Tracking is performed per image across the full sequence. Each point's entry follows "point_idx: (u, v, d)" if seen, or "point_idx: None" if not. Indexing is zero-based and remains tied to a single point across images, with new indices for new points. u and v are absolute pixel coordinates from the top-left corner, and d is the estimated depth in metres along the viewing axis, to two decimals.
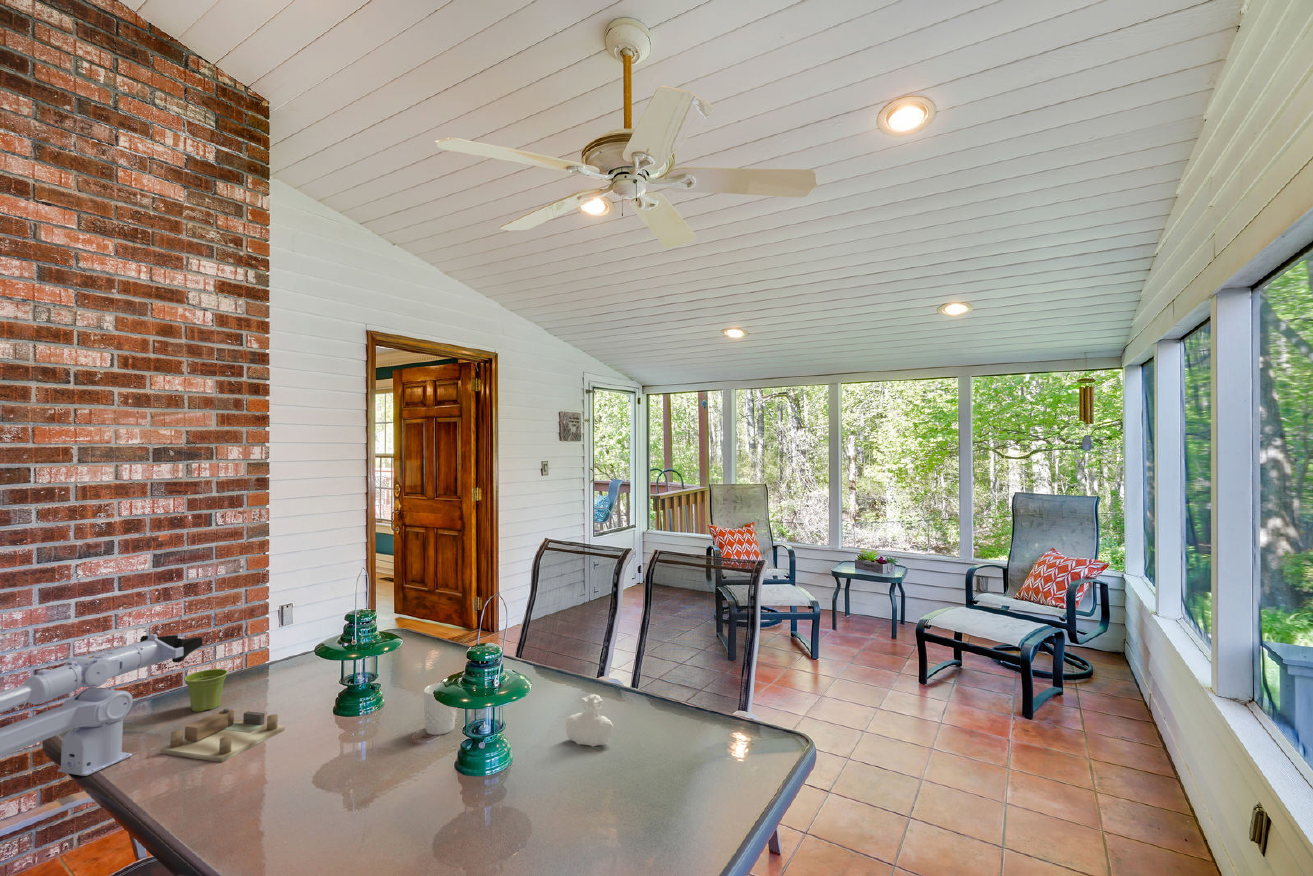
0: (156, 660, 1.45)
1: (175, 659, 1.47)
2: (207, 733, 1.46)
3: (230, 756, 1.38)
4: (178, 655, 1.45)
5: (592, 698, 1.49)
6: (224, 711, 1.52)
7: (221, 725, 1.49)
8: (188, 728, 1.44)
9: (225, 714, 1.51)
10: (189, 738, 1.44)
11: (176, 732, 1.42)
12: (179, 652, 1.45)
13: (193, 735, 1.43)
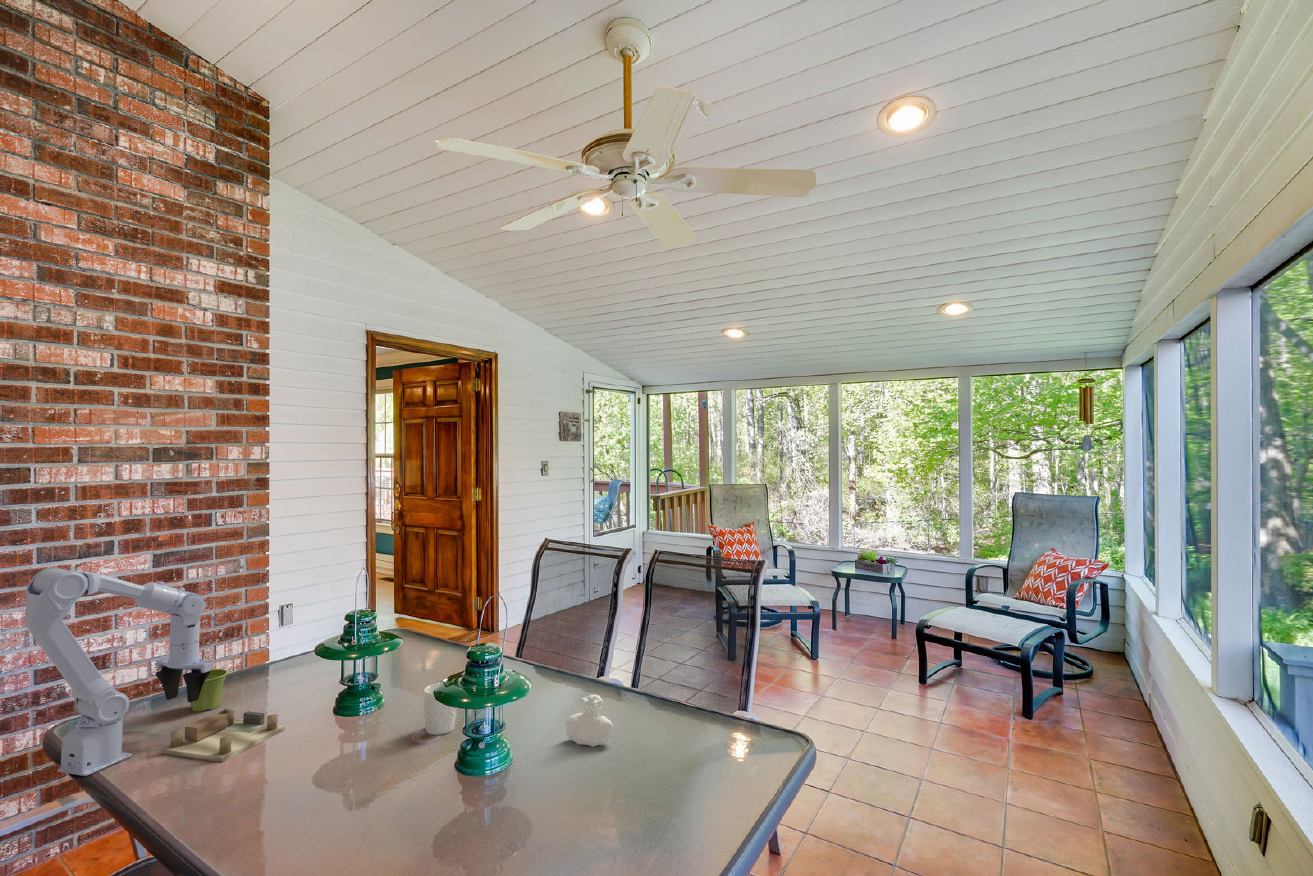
0: (185, 661, 1.48)
1: (188, 674, 1.47)
2: (207, 733, 1.46)
3: (230, 756, 1.38)
4: (206, 667, 1.48)
5: (592, 698, 1.49)
6: (224, 711, 1.52)
7: (221, 725, 1.49)
8: (188, 728, 1.44)
9: (225, 714, 1.51)
10: (189, 738, 1.44)
11: (176, 732, 1.42)
12: (208, 667, 1.48)
13: (193, 735, 1.43)
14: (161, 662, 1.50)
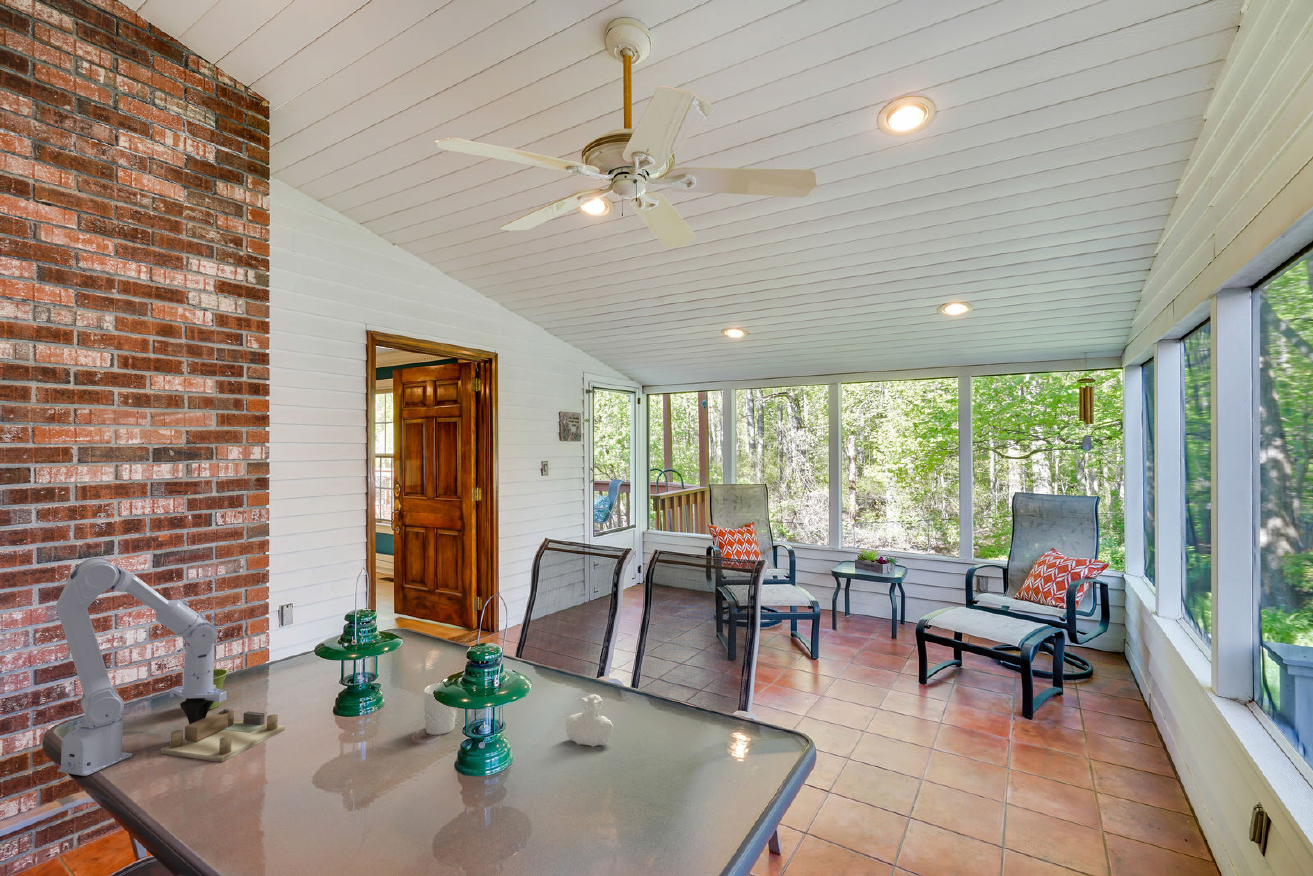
0: (199, 691, 1.47)
1: (193, 702, 1.46)
2: (207, 733, 1.46)
3: (230, 756, 1.38)
4: (221, 696, 1.46)
5: (592, 698, 1.49)
6: (224, 711, 1.52)
7: (221, 725, 1.49)
8: (188, 728, 1.44)
9: (225, 714, 1.51)
10: (189, 738, 1.44)
11: (176, 732, 1.42)
12: (223, 697, 1.47)
13: (193, 735, 1.43)
14: (175, 692, 1.48)
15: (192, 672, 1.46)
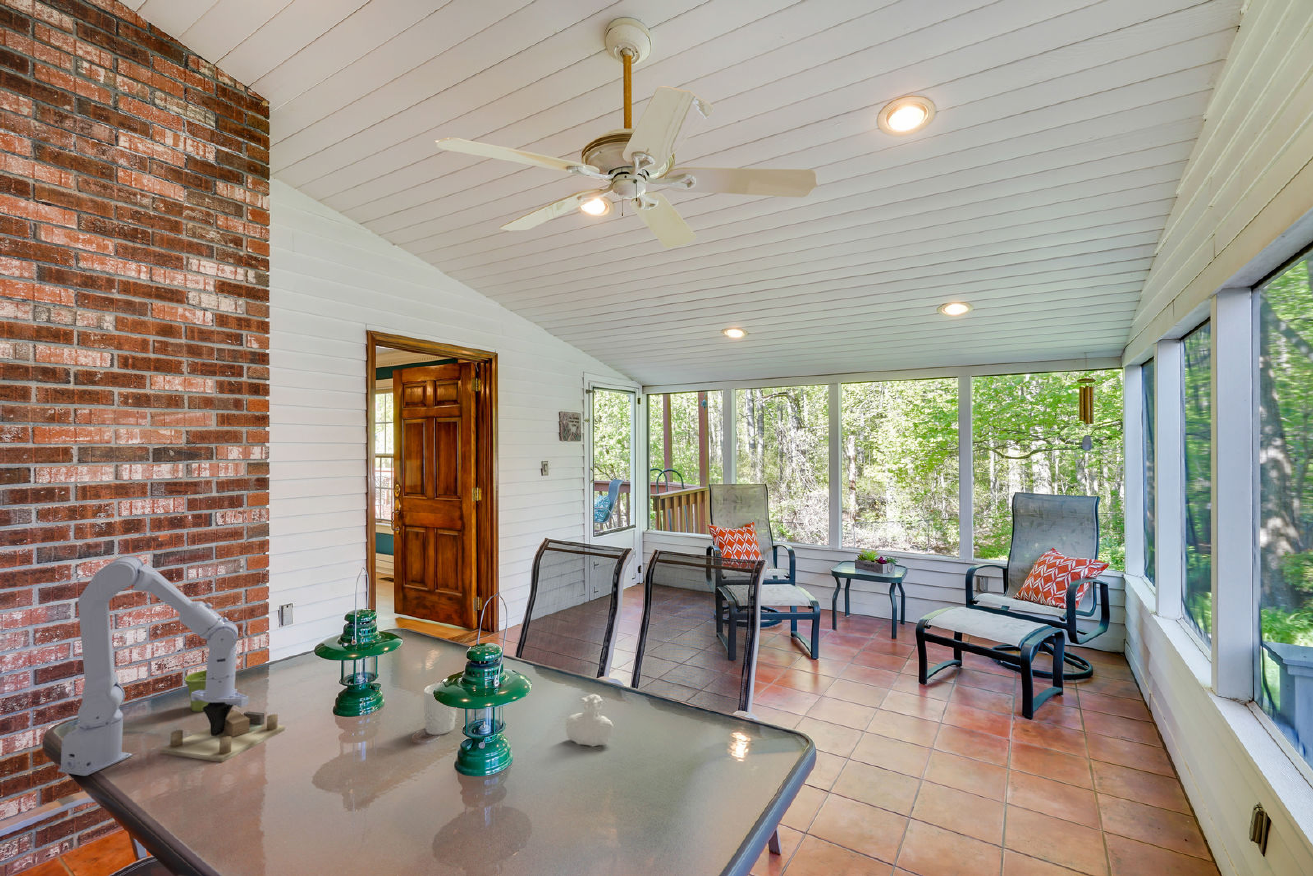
0: (221, 695, 1.45)
1: (212, 706, 1.45)
2: None
3: (230, 756, 1.38)
4: (243, 701, 1.45)
5: (592, 698, 1.49)
6: None
7: None
8: (237, 723, 1.47)
9: (233, 711, 1.53)
10: (239, 732, 1.47)
11: (176, 732, 1.42)
12: (245, 701, 1.45)
13: (244, 728, 1.48)
14: (196, 695, 1.47)
15: (211, 676, 1.44)
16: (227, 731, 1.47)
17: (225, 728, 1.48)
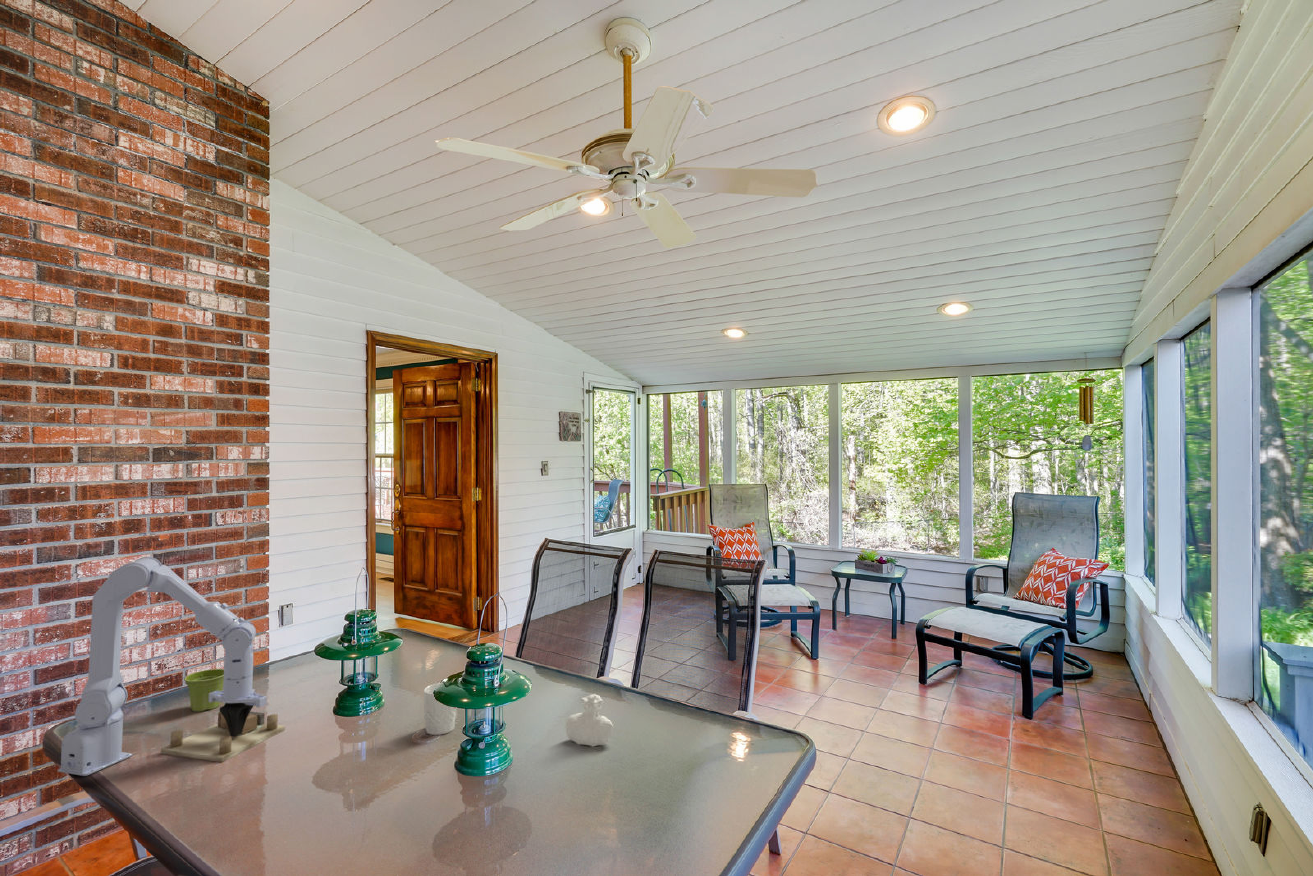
0: (239, 696, 1.44)
1: (233, 707, 1.44)
2: None
3: (230, 756, 1.38)
4: (261, 701, 1.44)
5: (592, 698, 1.49)
6: None
7: None
8: (246, 721, 1.48)
9: None
10: (248, 729, 1.48)
11: (176, 732, 1.42)
12: (263, 701, 1.44)
13: (253, 725, 1.50)
14: (214, 696, 1.46)
15: (227, 676, 1.43)
16: None
17: None
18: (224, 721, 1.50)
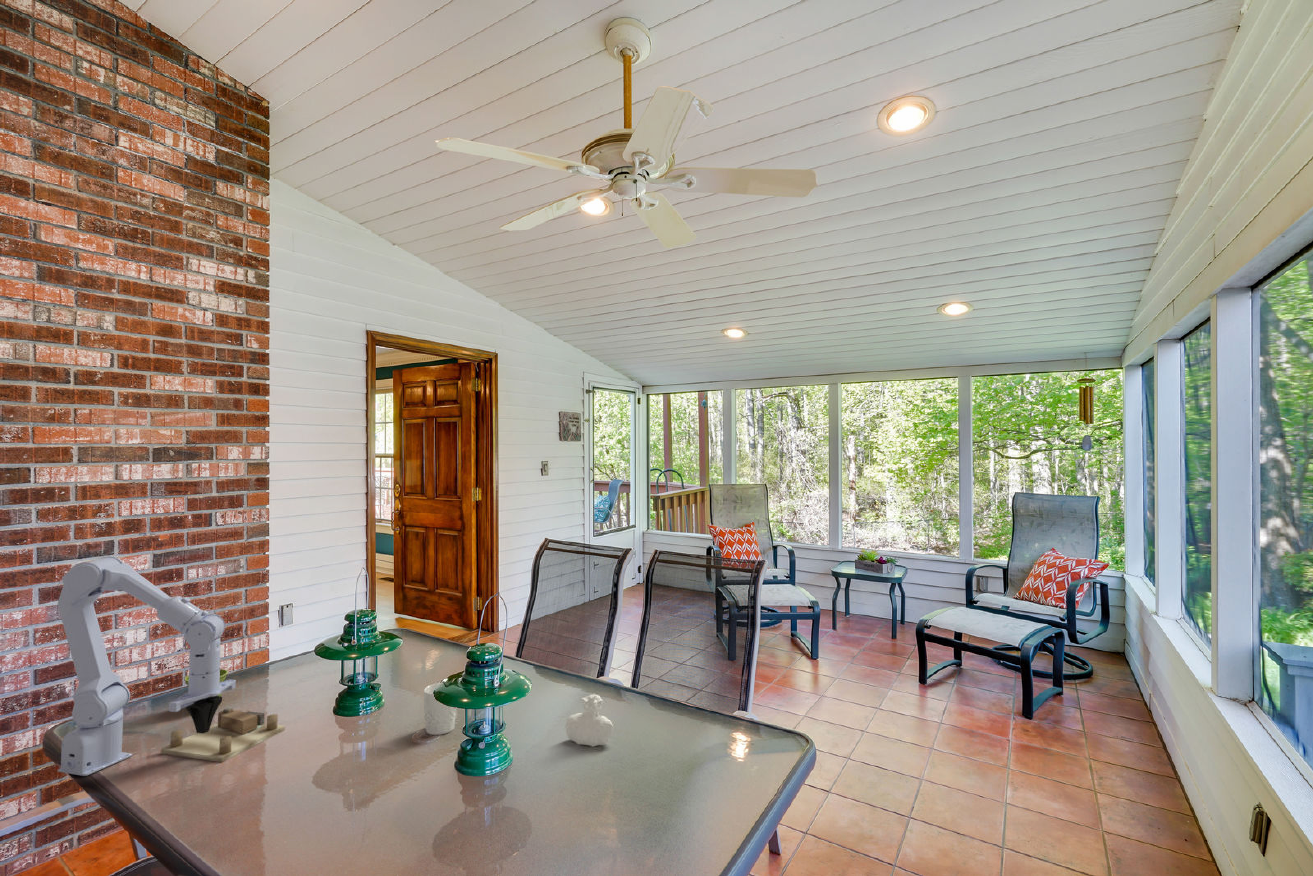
0: (188, 691, 1.39)
1: None
2: None
3: (230, 756, 1.38)
4: (170, 705, 1.34)
5: (592, 698, 1.49)
6: (228, 710, 1.52)
7: None
8: (247, 721, 1.48)
9: (234, 711, 1.53)
10: (248, 729, 1.48)
11: (176, 732, 1.42)
12: (172, 707, 1.34)
13: (253, 725, 1.50)
14: None
15: (191, 671, 1.39)
16: (234, 729, 1.48)
17: (231, 727, 1.49)
18: (224, 721, 1.50)
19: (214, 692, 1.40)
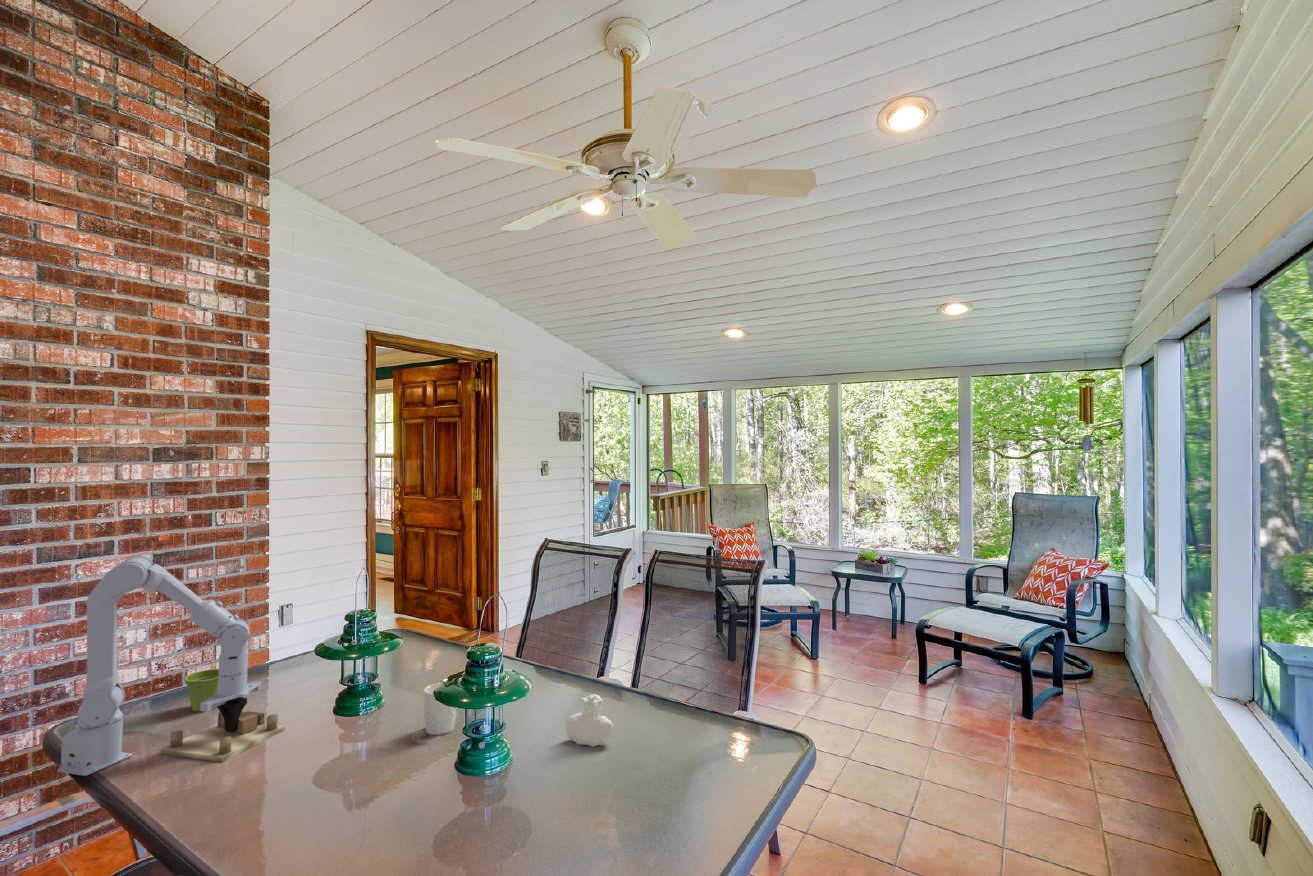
0: (218, 692, 1.46)
1: None
2: None
3: (230, 756, 1.38)
4: (201, 705, 1.41)
5: (592, 698, 1.49)
6: None
7: None
8: (247, 720, 1.48)
9: None
10: (248, 729, 1.49)
11: (176, 732, 1.42)
12: (204, 707, 1.41)
13: (253, 725, 1.50)
14: None
15: (223, 673, 1.45)
16: None
17: None
18: (224, 721, 1.50)
19: (242, 693, 1.47)
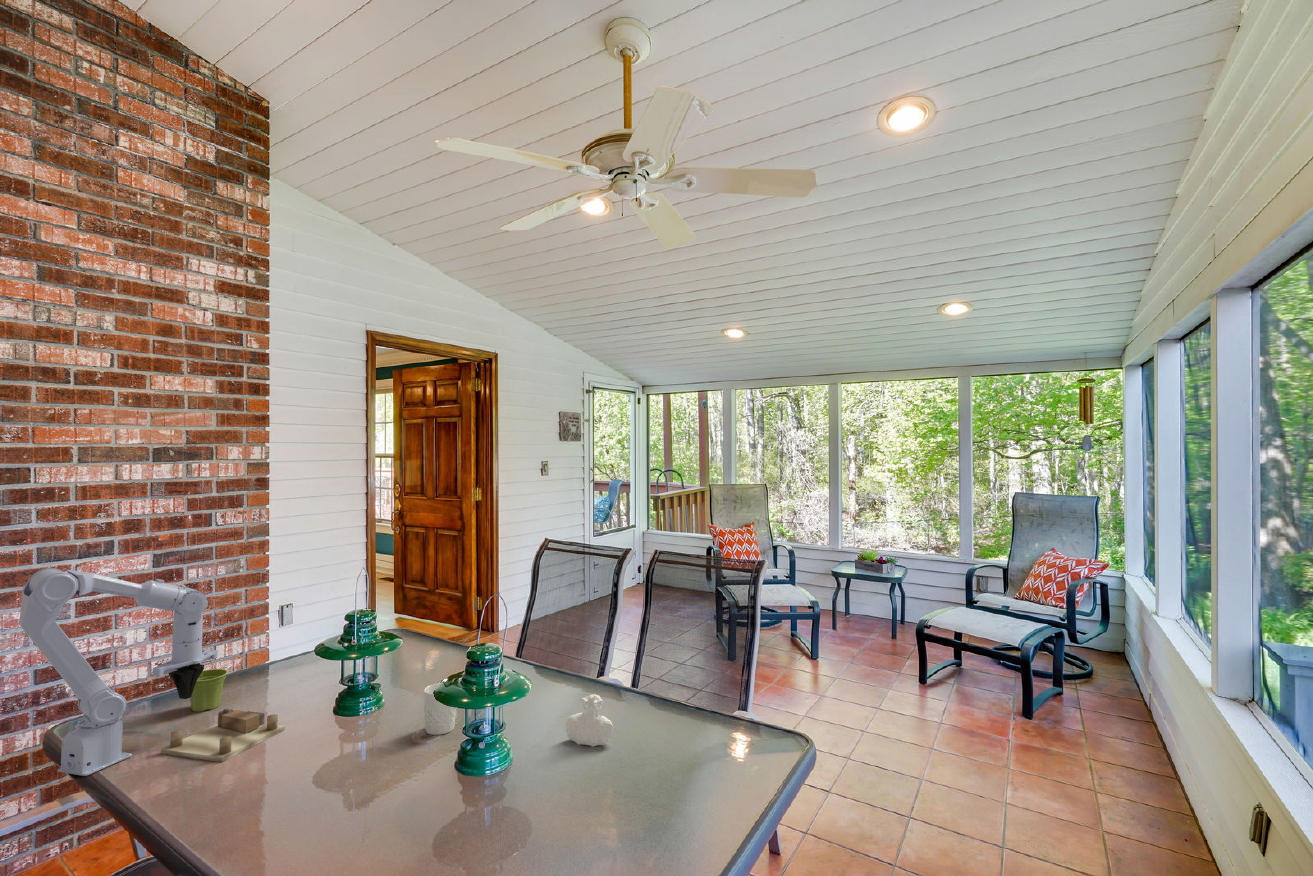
0: None
1: None
2: None
3: (230, 756, 1.38)
4: (154, 671, 1.42)
5: (592, 698, 1.49)
6: (228, 710, 1.52)
7: None
8: (250, 719, 1.49)
9: (234, 710, 1.53)
10: (251, 728, 1.49)
11: (176, 732, 1.42)
12: (156, 672, 1.41)
13: (255, 723, 1.50)
14: None
15: (182, 640, 1.46)
16: (236, 729, 1.49)
17: (233, 726, 1.49)
18: (225, 721, 1.50)
19: (196, 660, 1.47)
